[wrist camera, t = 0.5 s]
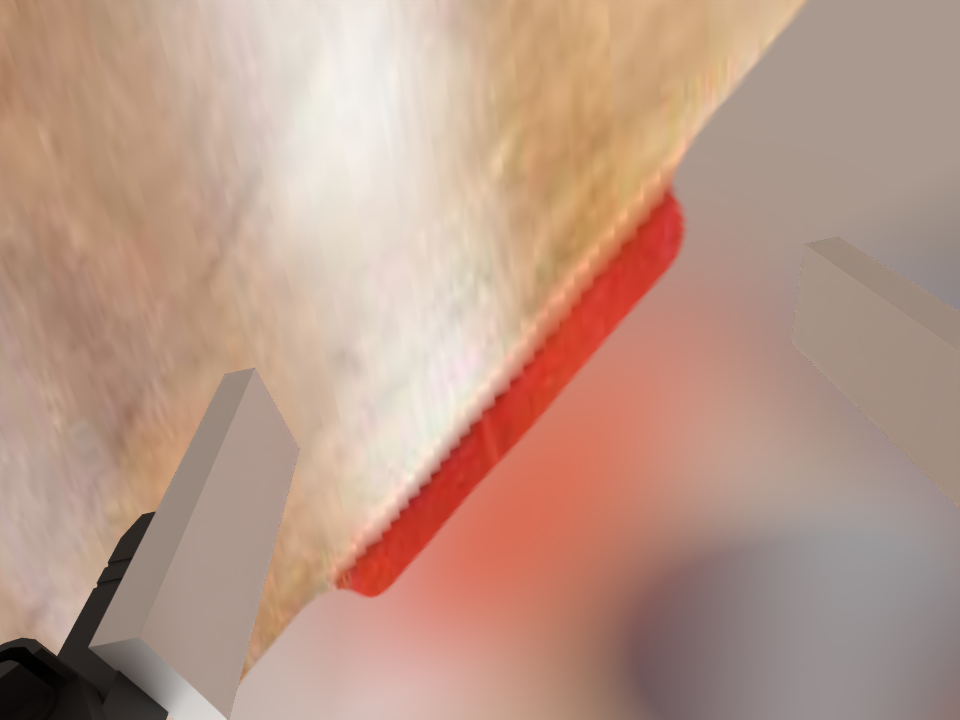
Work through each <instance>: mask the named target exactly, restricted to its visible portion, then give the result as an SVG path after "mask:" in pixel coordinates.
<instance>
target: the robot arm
mask: <svg viewBox="0 0 960 720" xmlns="http://www.w3.org/2000/svg"><path fill="white" fill-rule="evenodd" d="M791 343H792V344H793V345H794V346H795V347H796V348H797V349H798V350H799V351H800V352H801V353H802V354H803V355H804V356H805V357H806V358H807V359H808V360H809V361H810V362H811V363H812V364H813V365H814V366H815V367H816V368H817V369H818V370H819V371H820V372H821V373H822V374H823V375H824V376H825V377H826V378H827V379H828V380H829V381H830V382H831V383H832V384H833V385H834V386H836V388H837V389H838V390H840V392H842V393H843V394H844V395H845V396H846V397H847V398H848V399H849V400H850V401H851V402H852V403H853V404H854V405H855V406H856V407H857V408H858V409H859V410H860V411H861V412H862V413H863V414H864V415H865V416H866V417H867V418H868V419H869V420H870V421H871V422H872V423H873V424H874V425H875V426H876V427H877V428H878V429H880V431H881V432H882V433H883V434H884V435H885V436H886V437H887V438H889V440H890V441H891V442H892V443H893V444H894V445H896V447H897V448H899V450H900V451H902V452H903V453H904V454H905V455H906V456H907V457H908V458H909V459H910V460H911V461H912V462H913V463H914V464H915V465H916V466H917V467H918V468H919V469H920V470H921V471H922V472H923V473H924V474H925V475H926V476H927V477H928V478H929V479H930V480H931V481H932V482H933V483H934V484H935V485H936V486H937V487H938V488H939V489H940V490H941V491H942V492H943V493H944V494H945V495H946V496H947V497H948V498H950V500H951V501H952V502H953V503H955V505H957V507H959V508H960V311H958V310H956V309H955V308H953V307H952V306H949V305H948V304H947V303H945V302H943V301H942V300H940V299H939V298H937V297H935V296H933V295H932V294H930V293H929V292H927V291H926V290H924V289H922V288H921V287H919V286H917V285H916V284H914V283H912V282H911V281H909V280H908V279H906V278H904V277H903V276H901V275H900V274H898V273H896V272H895V271H893V270H892V269H890V268H888V267H887V266H885V265H883V264H882V263H880V262H879V261H877V260H875V259H874V258H872V257H870V256H869V255H867V254H866V253H864V252H862V251H861V250H859V249H857V248H856V247H854V246H853V245H851V244H849V243H848V242H846V241H844V240H843V239H841V238H839V237H833V238H829V239H825V240H820V241H816V242H811V243H807V244H804V251H803V257H802V265H801V271H800V279H799V286H798V294H797V300H796V308H795V315H794V322H793V329H792V336H791ZM299 450H300V448H299V447H298V445H297V443H296V441H295V439H294V437H293V436H292V434H291V432H290V430H289V428H288V426H287V425H286V423H285V421H284V419H283V417H282V415H281V414H280V412H279V410H278V408H277V406H276V405H275V403H274V401H273V399H272V397H271V395H270V394H269V392H268V390H267V388H266V386H265V384H264V383H263V381H262V379H261V377H260V375H259V373H258V372H257V370H256V368H251V369H246V370H242V371H237V372H233V373H228V374H225V375H224V377H223V379H222V381H221V383H220V385H219V387H218V389H217V391H216V393H215V395H214V397H213V399H212V401H211V403H210V405H209V407H208V409H207V411H206V413H205V415H204V417H203V419H202V421H201V423H200V425H199V427H198V429H197V431H196V433H195V435H194V437H193V439H192V441H191V443H190V445H189V447H188V449H187V451H186V453H185V455H184V457H183V459H182V461H181V463H180V465H179V467H178V469H177V471H176V473H175V475H174V477H173V479H172V481H171V483H170V485H169V487H168V489H167V491H166V493H165V495H164V497H163V499H162V501H161V503H160V505H159V507H158V509H157V511H156V512H151V513H146V514H142V515H141V516H140V518H139V519H138V520H137V521H136V522H135V523H134V524H133V525H132V526H131V527H130V529H129V530H128V531H127V532H126V533H125V534H124V535H123V536H122V537H121V539H120V541H119V543H118V544H117V546H116V548H115V550H114V552H113V554H112V556H111V557H110V559H109V561H108V567H105V568H104V570H103V572H102V574H101V576H100V578H99V580H98V581H97V588H94V589H93V591H92V593H91V594H90V596H89V598H88V600H87V602H86V604H85V606H84V607H83V609H82V611H81V613H80V615H79V617H78V619H77V620H76V622H75V624H74V626H73V628H72V630H71V632H70V633H69V635H68V637H67V639H66V641H65V643H64V644H63V646H62V648H61V650H60V652H59V654H58V656H56V655H55V654H53V653H52V652H51V651H49V650H48V649H47V648H46V647H44V646H43V645H42V644H40V643H39V642H38V641H37V640H35V639H28V638H20V639H16V640H13V641H10V642H6V643H4V644H2V645H0V720H166V718H167V716H168V715H170V716H171V717H172V718H173V719H174V720H229V719H230V715H231V711H232V707H233V703H234V699H235V696H236V691H237V688H238V684H239V680H240V676H241V673H242V669H243V665H244V661H245V657H246V653H247V650H248V646H249V642H250V638H251V634H252V630H253V627H254V623H255V619H256V615H257V611H258V607H259V604H260V600H261V596H262V592H263V588H264V584H265V581H266V577H267V573H268V569H269V565H270V561H271V557H272V554H273V550H274V546H275V542H276V538H277V534H278V531H279V527H280V523H281V519H282V515H283V511H284V508H285V504H286V500H287V496H288V492H289V488H290V485H291V481H292V477H293V473H294V469H295V465H296V462H297V458H298V454H299Z"/></svg>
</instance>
